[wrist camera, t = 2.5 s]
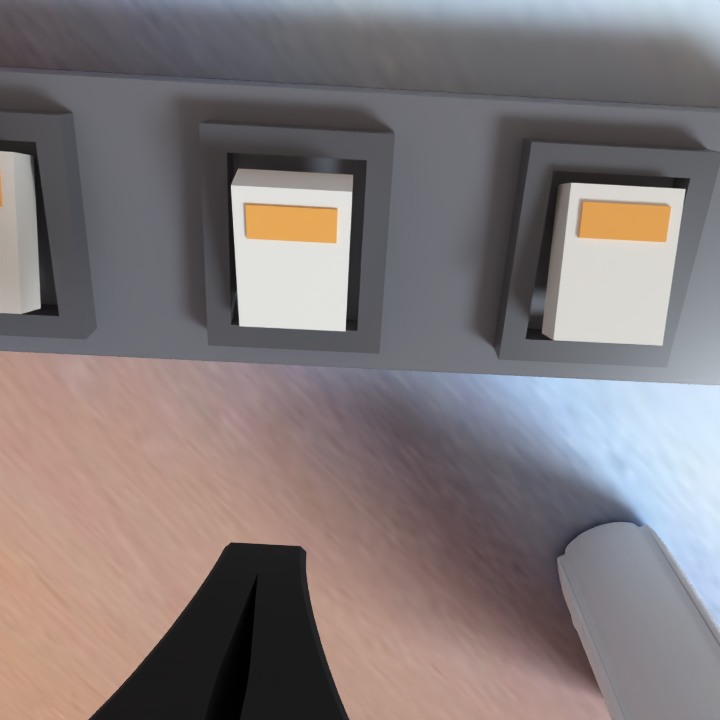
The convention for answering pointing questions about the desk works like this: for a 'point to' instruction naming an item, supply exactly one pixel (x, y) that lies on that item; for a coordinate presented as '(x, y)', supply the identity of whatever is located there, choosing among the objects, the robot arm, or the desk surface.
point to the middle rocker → (292, 248)
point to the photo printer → (641, 625)
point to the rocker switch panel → (368, 220)
